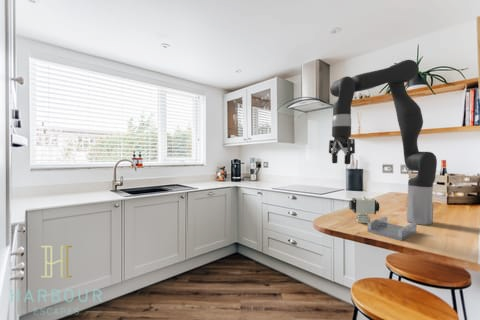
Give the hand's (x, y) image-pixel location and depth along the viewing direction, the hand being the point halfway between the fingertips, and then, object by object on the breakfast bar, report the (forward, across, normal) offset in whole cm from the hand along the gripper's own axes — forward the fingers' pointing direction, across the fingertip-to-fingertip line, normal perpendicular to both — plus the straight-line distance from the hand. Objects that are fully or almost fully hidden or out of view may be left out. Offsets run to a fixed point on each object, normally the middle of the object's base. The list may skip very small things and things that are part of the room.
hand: (340, 163), depth 101 cm
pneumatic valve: (+28, +4, -15) cm, 32 cm away
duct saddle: (+27, -10, -17) cm, 34 cm away
